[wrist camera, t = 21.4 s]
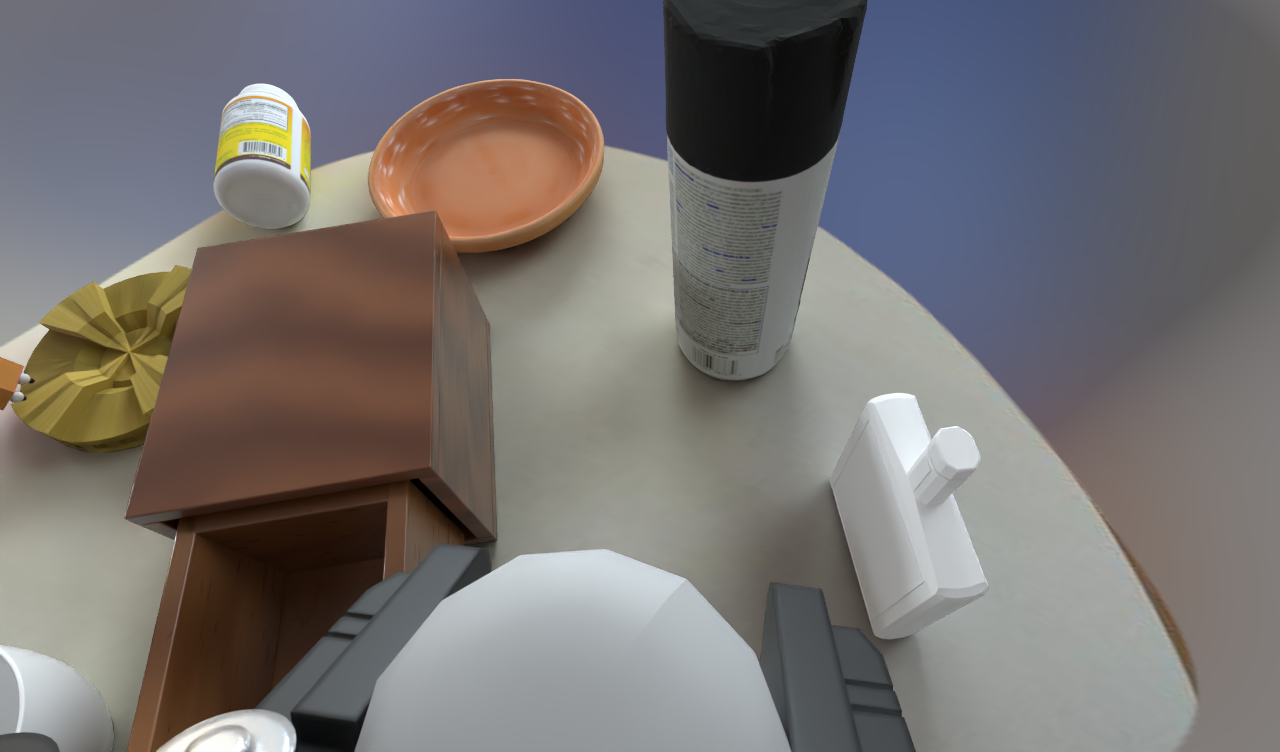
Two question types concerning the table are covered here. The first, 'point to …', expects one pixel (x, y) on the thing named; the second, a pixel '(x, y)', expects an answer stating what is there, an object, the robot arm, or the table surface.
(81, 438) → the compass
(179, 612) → the drawer
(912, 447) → the perfume bottle
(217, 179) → the supplement bottle
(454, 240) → the saucer
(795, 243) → the spray can
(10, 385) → the toy
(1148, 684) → the table surface
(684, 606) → the salt shaker
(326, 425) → the cabinet
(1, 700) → the cup
